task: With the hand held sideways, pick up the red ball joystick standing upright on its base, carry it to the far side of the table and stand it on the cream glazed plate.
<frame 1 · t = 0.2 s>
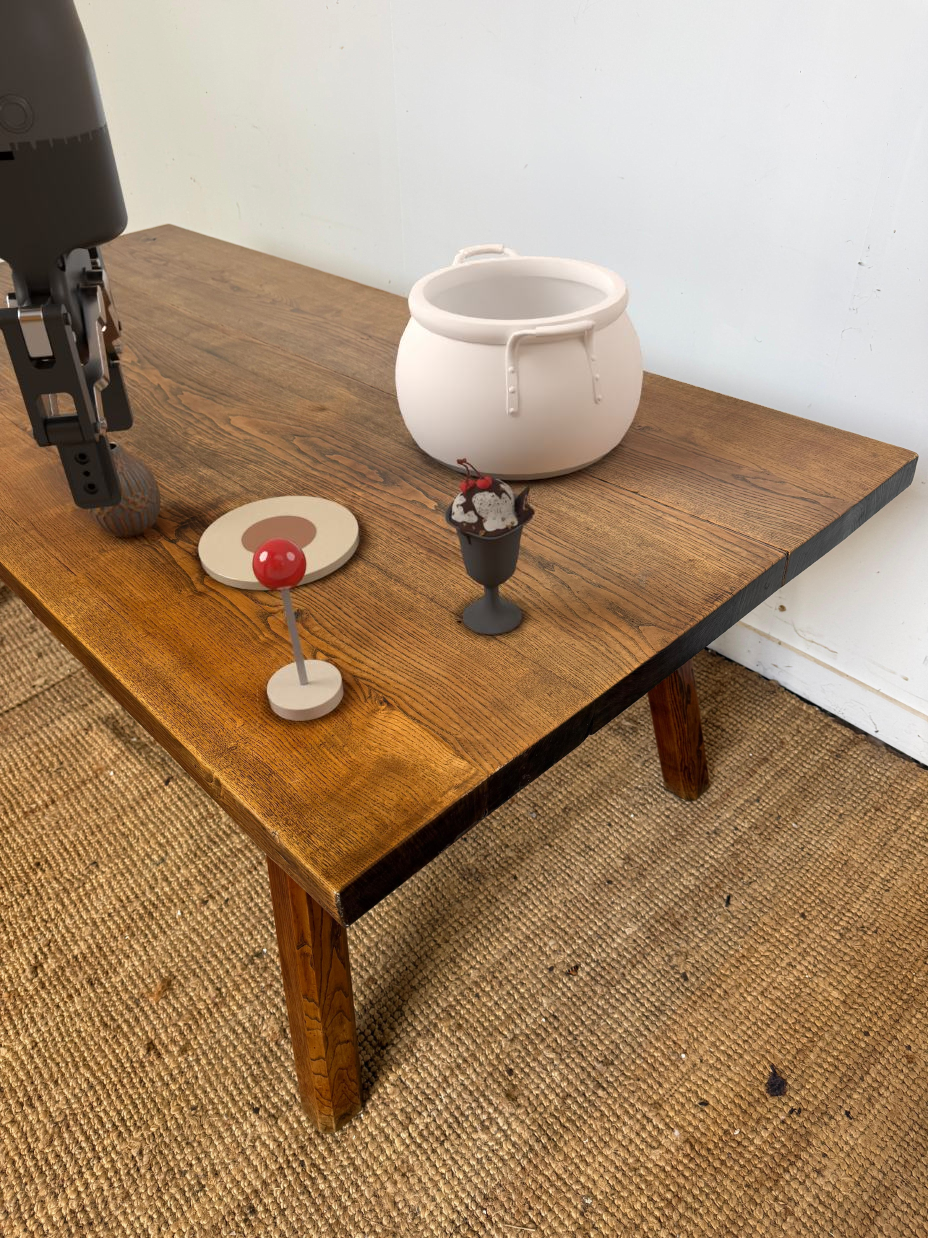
hand: (108, 463, 47), 23 cm above the table, tool pointing down, fingers open, 8 cm apart
sundae: (491, 619, 73), on the table
pot: (518, 438, 99), on the table
red ball joystick: (306, 695, 67), on the table
plate: (280, 544, 84), on the table
vase: (132, 528, 87), on the table
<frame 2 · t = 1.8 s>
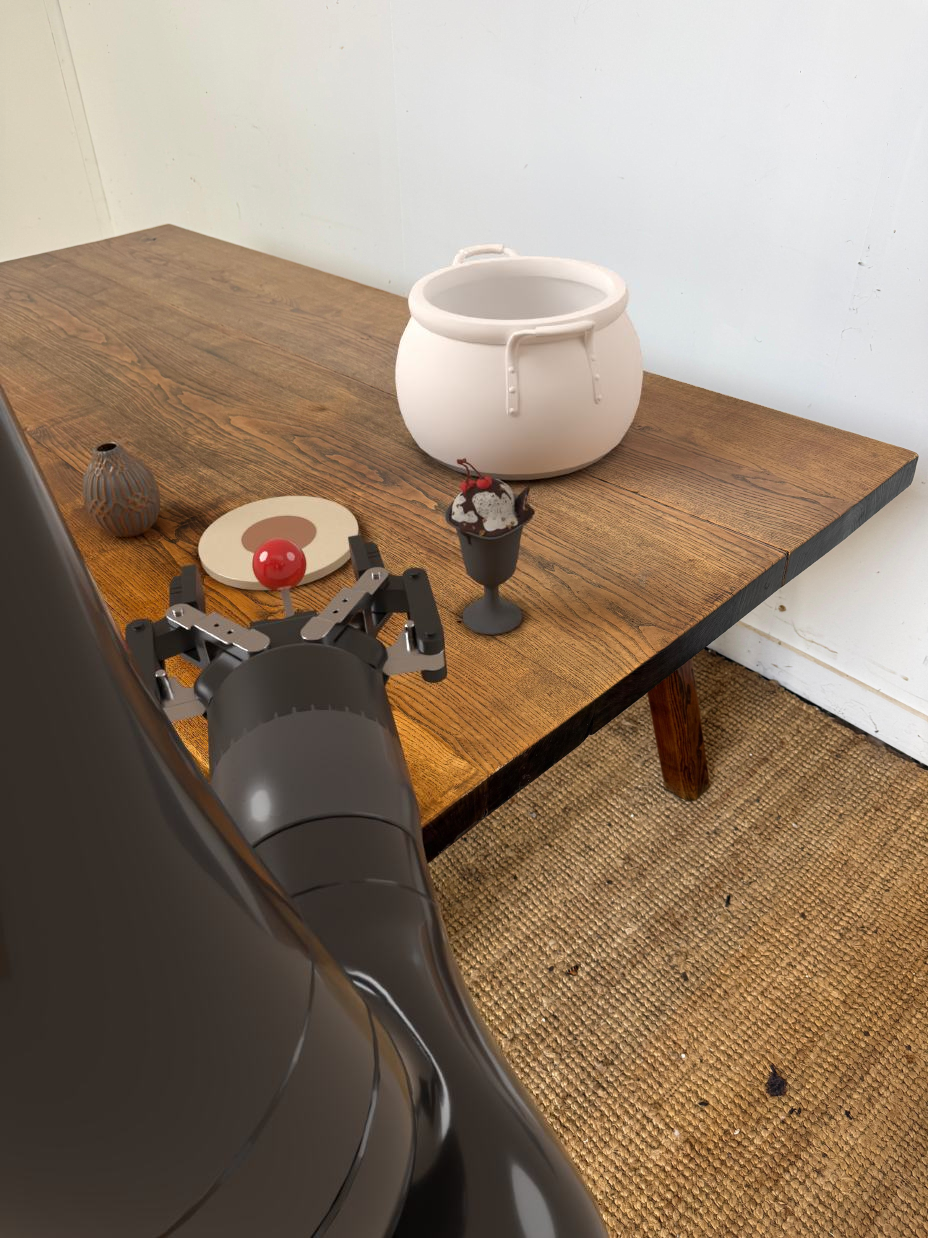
hand: (275, 563, 46), 19 cm above the table, tool horizontal, fingers open, 8 cm apart
nothing on the table moved.
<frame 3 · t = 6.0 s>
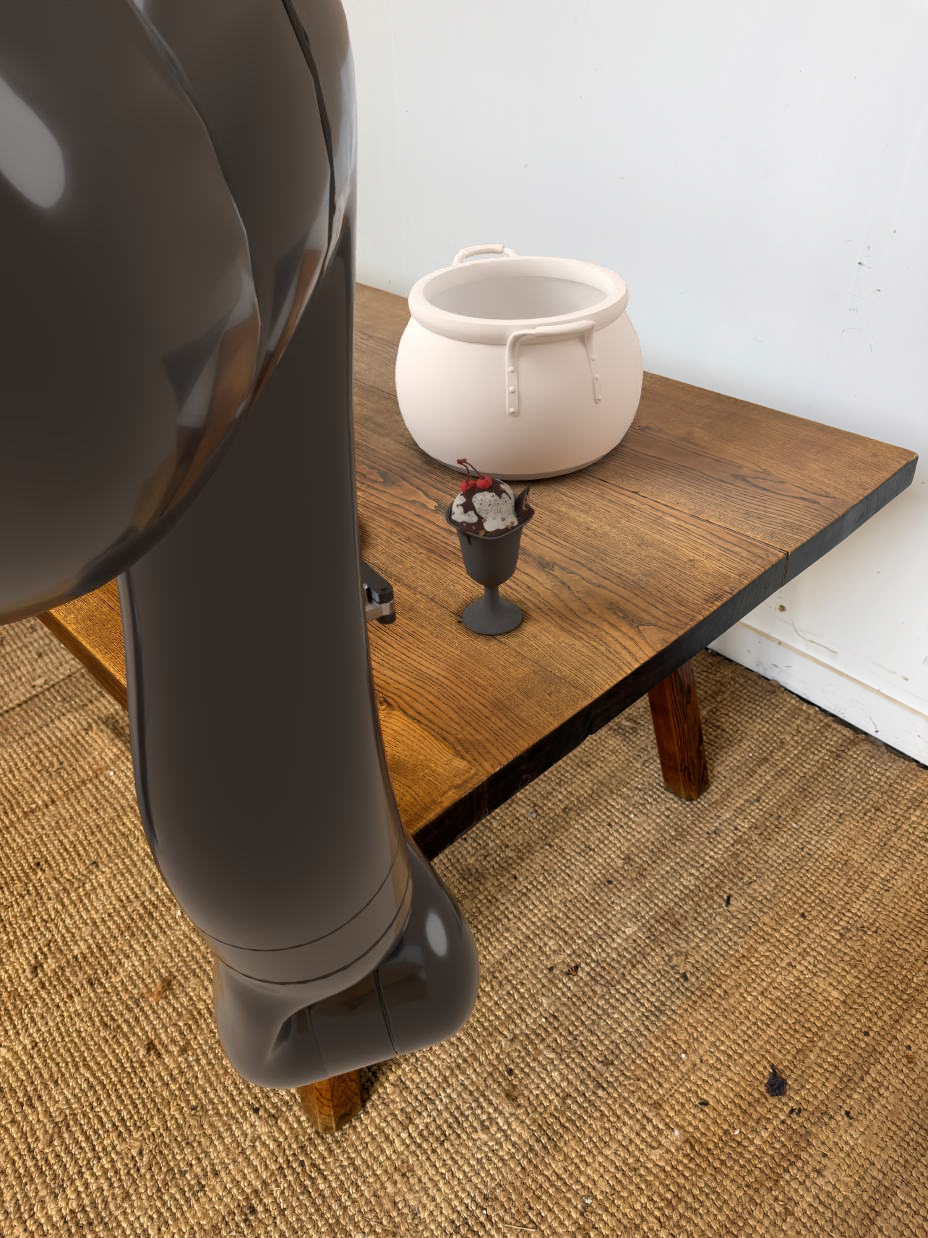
hand: (275, 542, 61), 12 cm above the table, tool horizontal, fingers closed on red ball joystick, 3 cm apart
red ball joystick: (306, 695, 67), on the table, touching gripper
everything else where it was.
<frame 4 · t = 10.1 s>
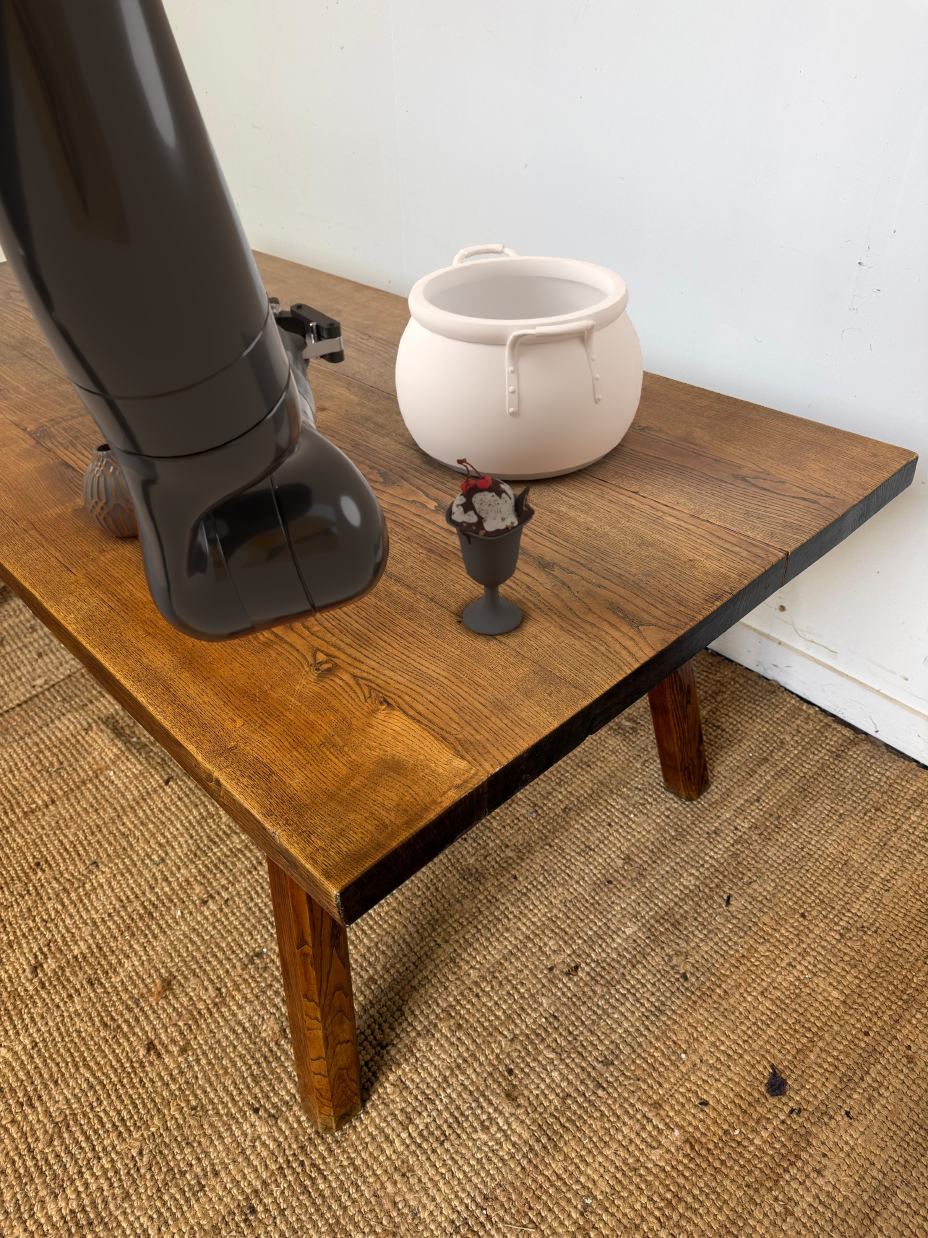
hand: (235, 309, 65), 24 cm above the table, tool horizontal, fingers closed on red ball joystick, 3 cm apart
red ball joystick: (268, 472, 70), point 12 cm above the table, touching gripper
everything else where it was.
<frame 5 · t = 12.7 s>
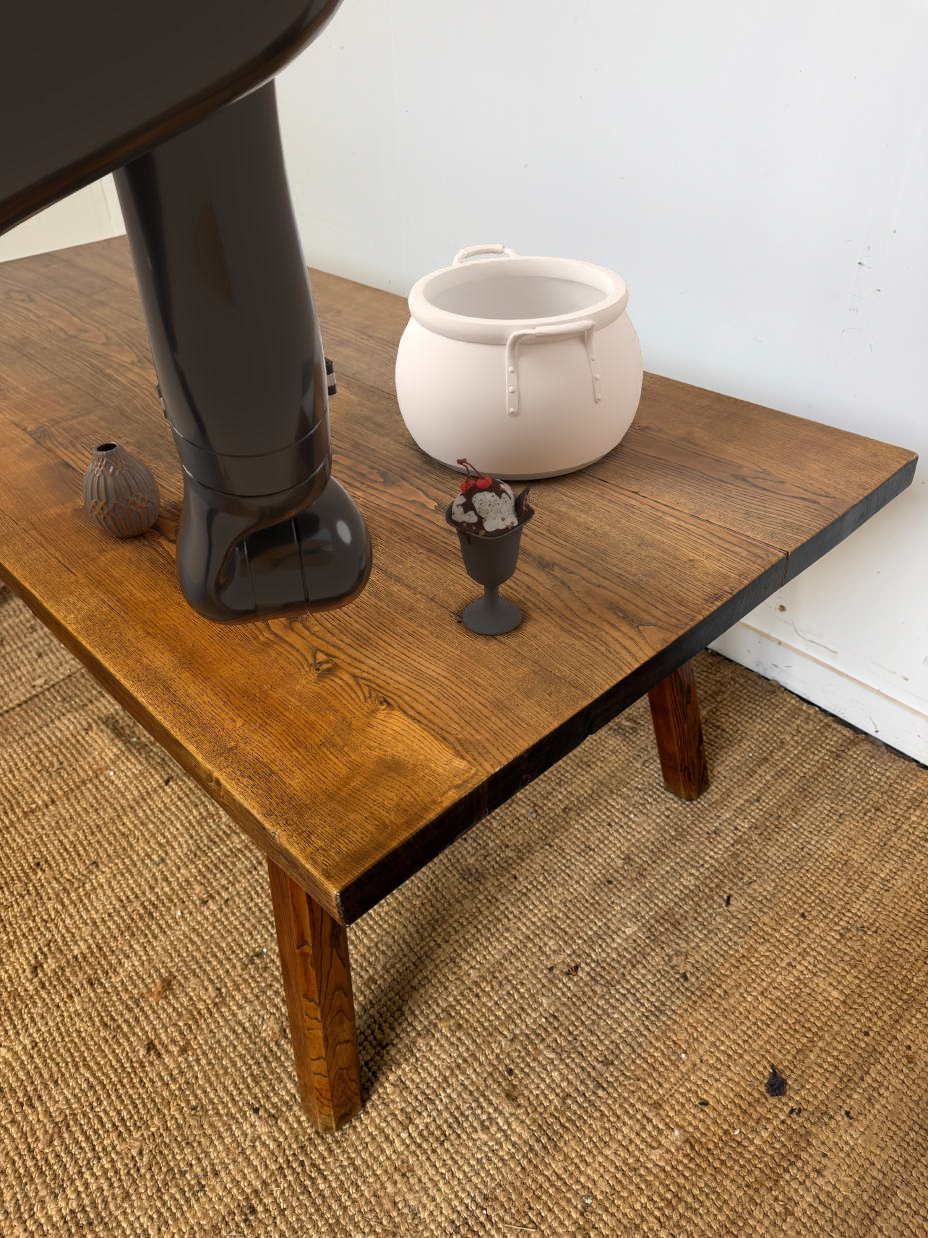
hand: (242, 347, 75), 18 cm above the table, tool horizontal, fingers closed on red ball joystick, 3 cm apart
red ball joystick: (271, 486, 80), point 6 cm above the table, touching gripper
everything else where it was.
when the fingers open (13 cm above the table, at t = 14.4 s): red ball joystick stays where it is, resting on plate.
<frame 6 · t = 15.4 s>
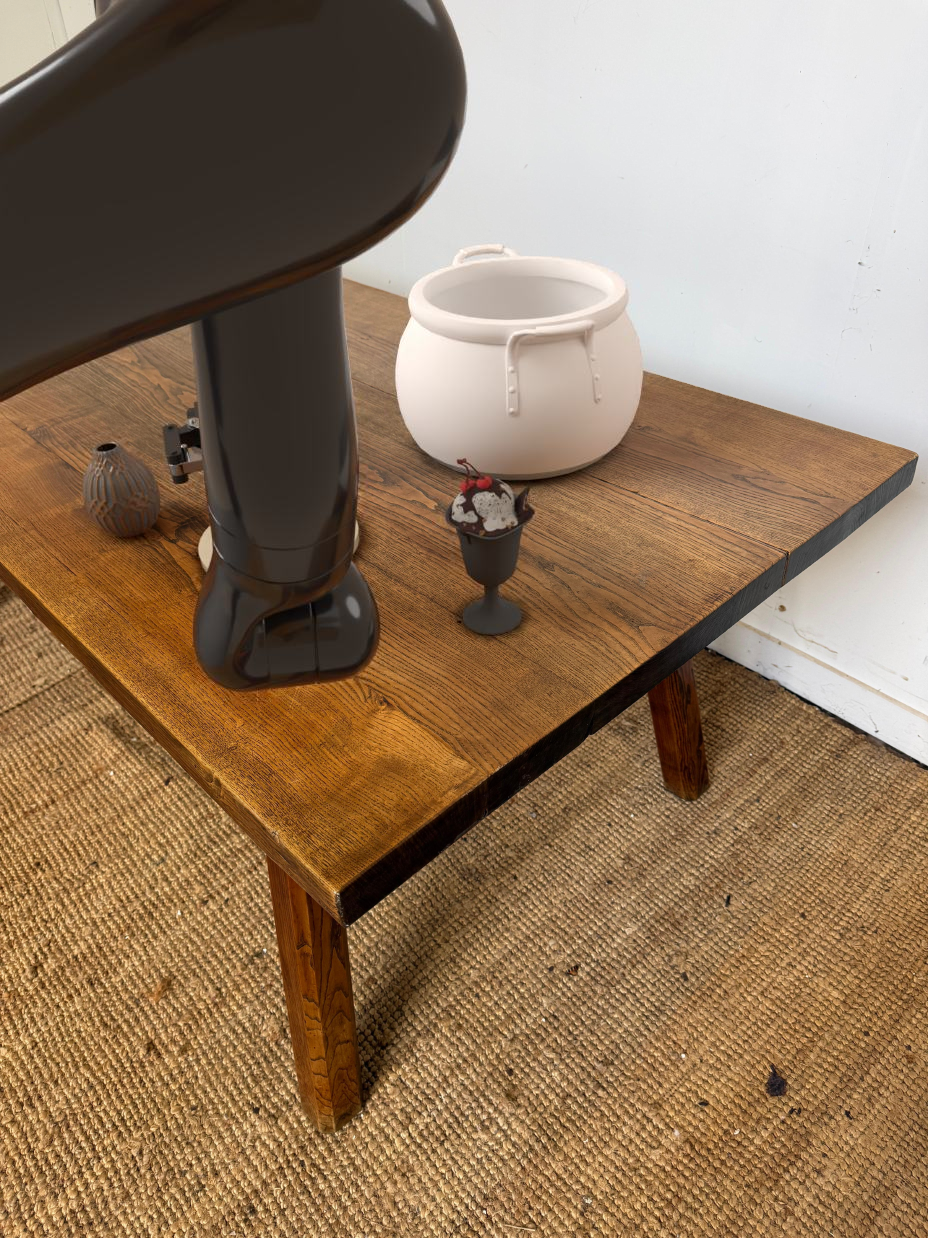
hand: (250, 404, 76), 14 cm above the table, tool horizontal, fingers open, 8 cm apart
red ball joystick: (280, 534, 83), point 1 cm above the table, touching plate
everything else where it was.
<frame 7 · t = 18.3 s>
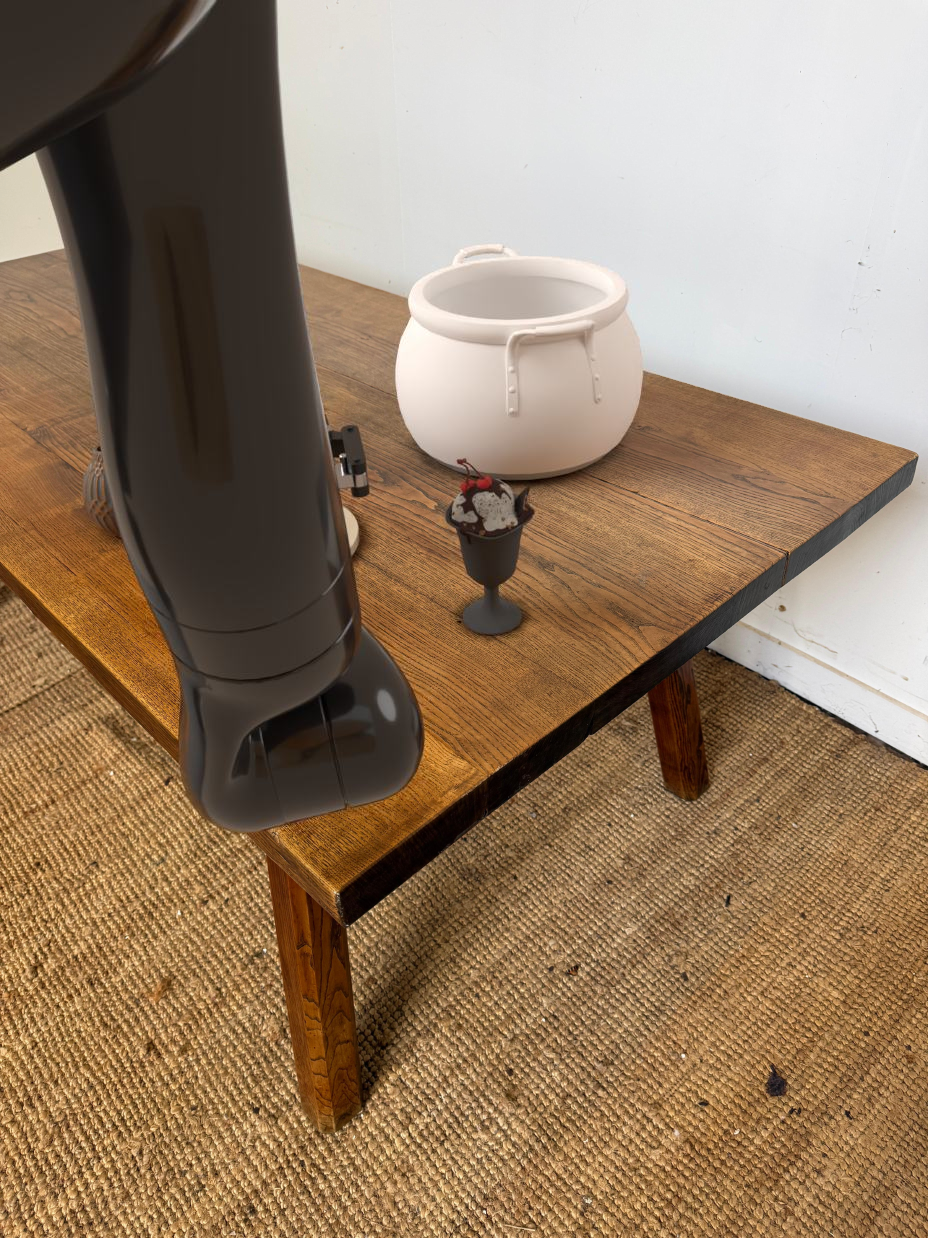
hand: (252, 427, 64), 17 cm above the table, tool horizontal, fingers open, 8 cm apart
nothing on the table moved.
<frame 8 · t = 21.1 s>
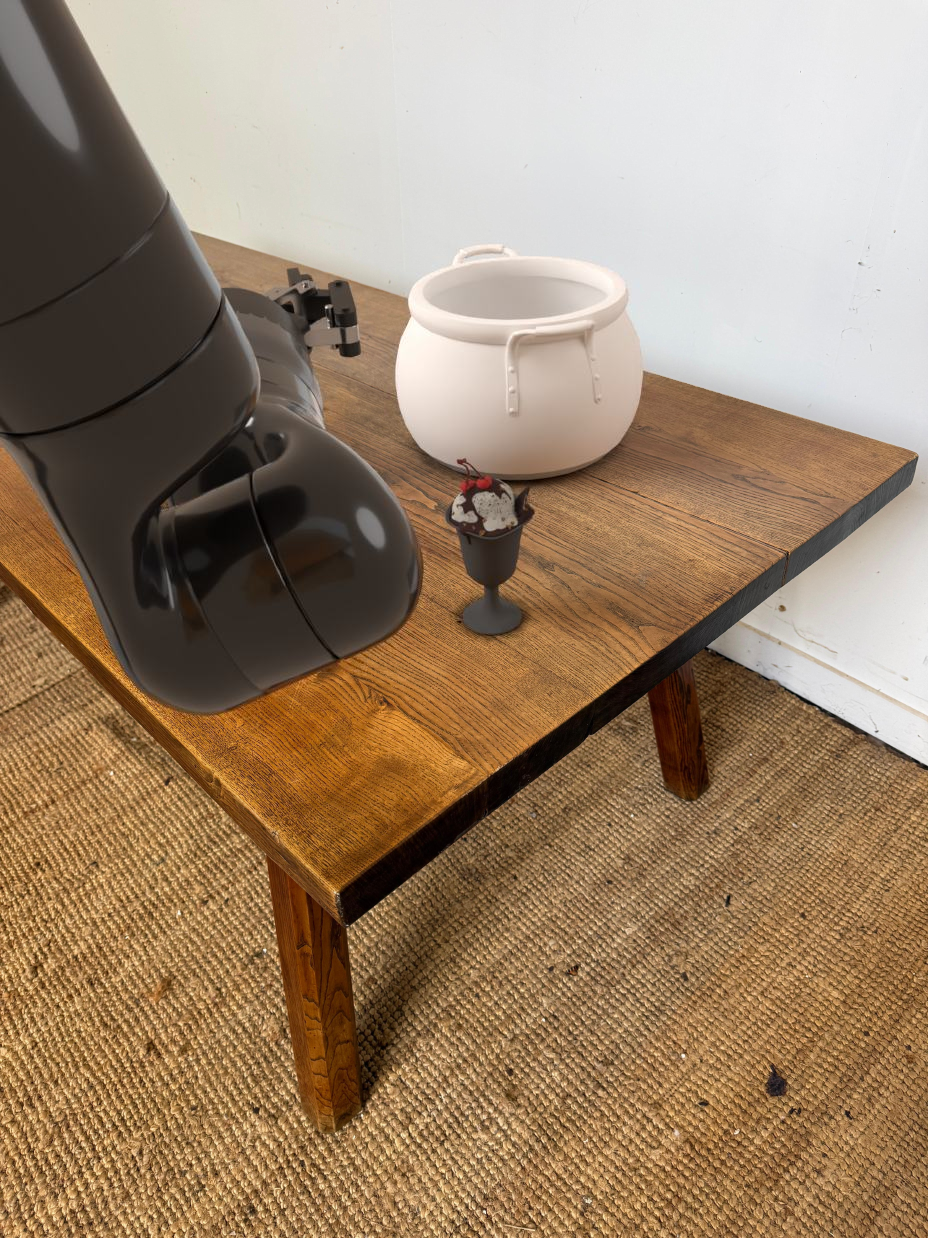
hand: (225, 292, 55), 28 cm above the table, tool horizontal, fingers open, 8 cm apart
nothing on the table moved.
at the end: red ball joystick inside the target area on the plate (0.2 cm from its centre), point 1.1 cm above the plate's base; red ball joystick tilted 0°; the gripper is holding nothing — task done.
